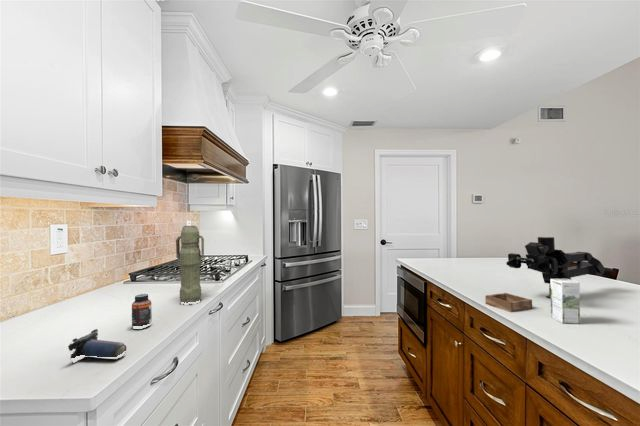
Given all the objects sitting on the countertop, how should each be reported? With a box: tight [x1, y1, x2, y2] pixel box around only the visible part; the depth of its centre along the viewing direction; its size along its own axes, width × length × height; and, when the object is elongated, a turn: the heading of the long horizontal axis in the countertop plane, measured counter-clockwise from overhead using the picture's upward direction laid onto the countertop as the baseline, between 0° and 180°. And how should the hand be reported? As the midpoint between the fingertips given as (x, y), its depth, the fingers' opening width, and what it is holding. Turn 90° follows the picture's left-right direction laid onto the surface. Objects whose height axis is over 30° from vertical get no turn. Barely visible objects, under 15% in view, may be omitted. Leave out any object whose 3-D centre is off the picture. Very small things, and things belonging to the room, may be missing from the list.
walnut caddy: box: [485, 292, 533, 313], centre depth 117 cm, size 11×11×4 cm
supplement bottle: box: [131, 293, 153, 327], centre depth 101 cm, size 6×6×11 cm
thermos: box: [175, 225, 205, 303], centre depth 130 cm, size 9×12×35 cm
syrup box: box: [550, 278, 581, 325], centre depth 100 cm, size 6×6×14 cm
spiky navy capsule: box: [67, 328, 127, 359], centre depth 79 cm, size 9×8×12 cm
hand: (517, 265), depth 118 cm, fingers open, 9 cm apart
